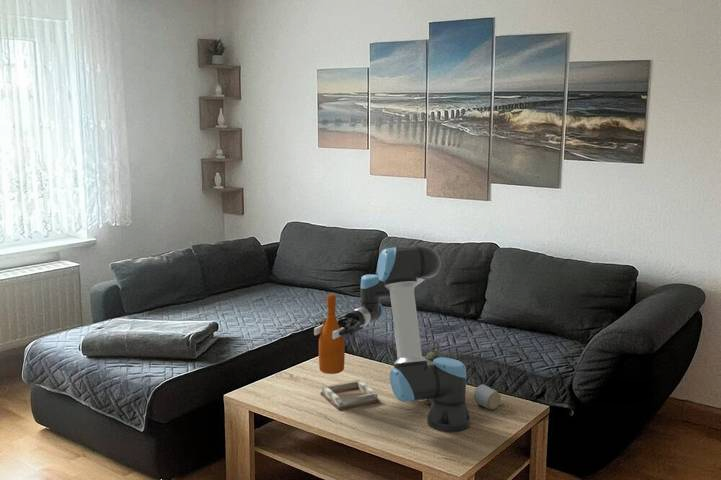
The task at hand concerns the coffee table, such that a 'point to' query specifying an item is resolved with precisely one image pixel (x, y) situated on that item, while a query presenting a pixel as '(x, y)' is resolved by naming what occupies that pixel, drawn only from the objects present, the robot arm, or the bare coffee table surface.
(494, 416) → the coffee table surface
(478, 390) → the ceramic mug
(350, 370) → the coffee table surface
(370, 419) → the coffee table surface
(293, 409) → the coffee table surface
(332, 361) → the wine bottle
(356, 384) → the bottle stand
